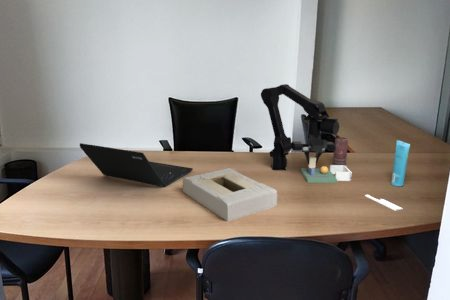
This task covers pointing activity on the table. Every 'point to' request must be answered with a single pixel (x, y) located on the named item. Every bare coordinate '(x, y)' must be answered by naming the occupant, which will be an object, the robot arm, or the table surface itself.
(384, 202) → the white plastic strip tool
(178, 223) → the table surface
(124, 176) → the laptop
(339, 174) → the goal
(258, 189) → the box
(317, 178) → the panel
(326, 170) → the ball
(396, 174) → the tube
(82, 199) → the table surface
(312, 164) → the beige and blue block
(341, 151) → the can
